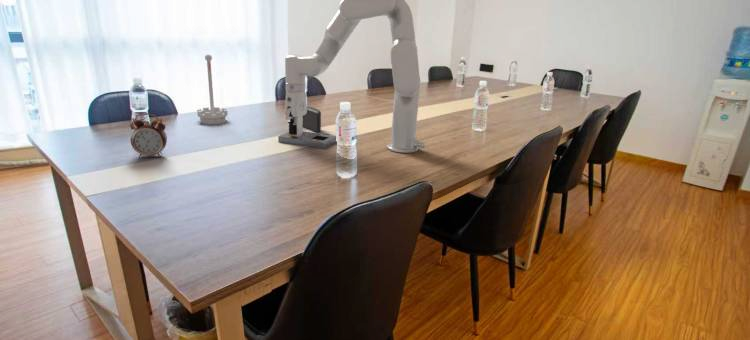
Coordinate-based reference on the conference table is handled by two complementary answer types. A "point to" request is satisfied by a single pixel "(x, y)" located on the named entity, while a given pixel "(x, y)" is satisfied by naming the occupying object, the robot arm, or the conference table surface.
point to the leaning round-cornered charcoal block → (312, 119)
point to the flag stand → (211, 103)
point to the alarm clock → (148, 136)
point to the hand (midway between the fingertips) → (295, 132)
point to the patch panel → (309, 139)
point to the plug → (298, 126)
